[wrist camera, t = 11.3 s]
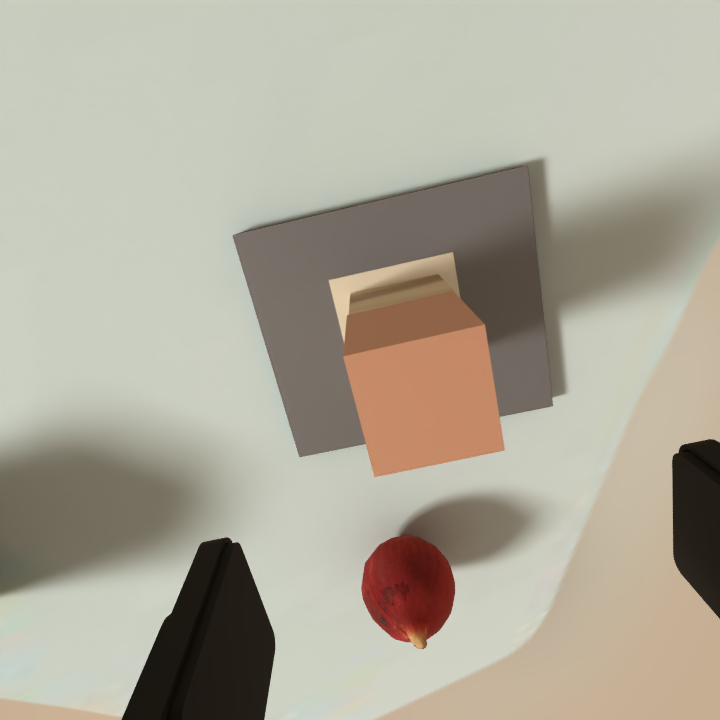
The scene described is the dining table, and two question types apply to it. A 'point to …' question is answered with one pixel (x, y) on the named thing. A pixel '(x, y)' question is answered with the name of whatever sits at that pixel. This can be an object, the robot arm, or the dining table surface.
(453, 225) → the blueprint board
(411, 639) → the onion
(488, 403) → the terracotta block
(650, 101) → the dining table surface
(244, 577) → the robot arm
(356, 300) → the pale oak block
